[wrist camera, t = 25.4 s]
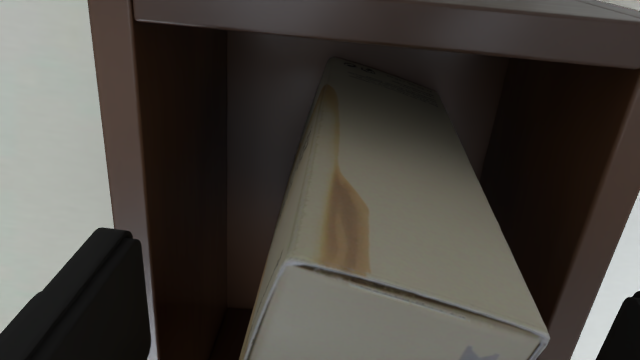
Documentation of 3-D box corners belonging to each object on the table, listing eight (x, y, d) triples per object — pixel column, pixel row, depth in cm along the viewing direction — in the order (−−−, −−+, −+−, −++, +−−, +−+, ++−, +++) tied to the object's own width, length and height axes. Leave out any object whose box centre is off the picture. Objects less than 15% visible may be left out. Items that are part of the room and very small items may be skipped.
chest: (207, -45, 17) (81, -31, 9) (545, -14, 17) (709, 27, 9) (213, 307, 24) (143, 486, 16) (454, 333, 24) (501, 529, 16)
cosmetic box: (328, 51, 18) (284, 235, 7) (442, 90, 18) (574, 324, 7) (279, 201, 21) (191, 502, 10) (378, 232, 21) (403, 557, 10)
